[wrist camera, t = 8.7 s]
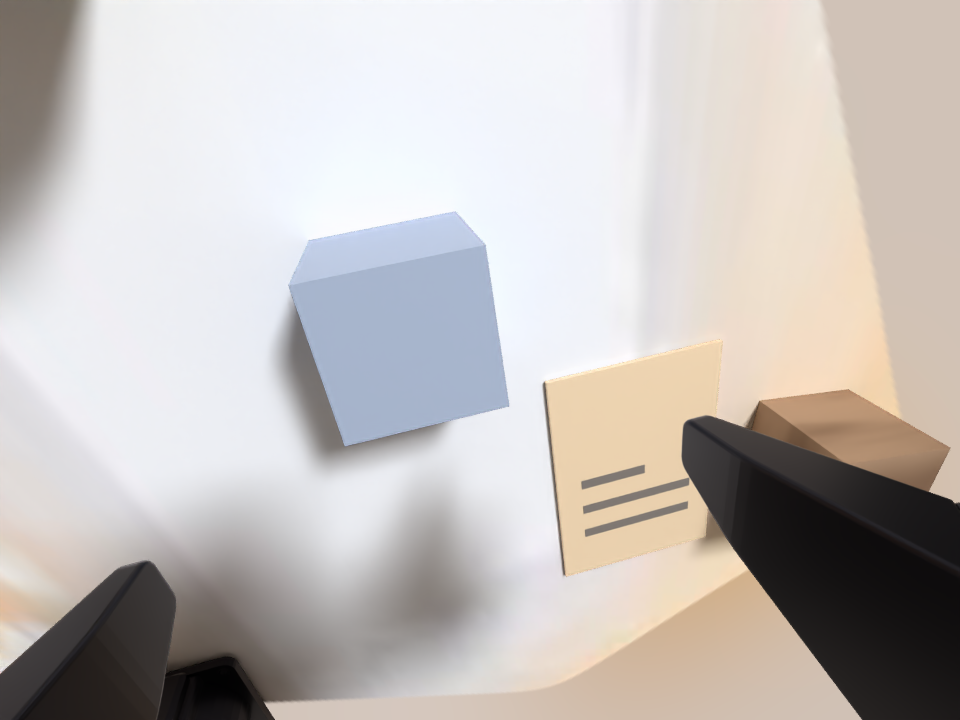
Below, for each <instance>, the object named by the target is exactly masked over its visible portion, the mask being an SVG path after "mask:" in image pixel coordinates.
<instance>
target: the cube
mask: <svg viewBox="0 0 960 720" xmlns="http://www.w3.org/2000/svg"><path fill="white" fill-rule="evenodd" d="M288 286H289V289H290V292H291V294H292V297H293V300H294V303H295V306H296V309H297V311H298V314H299V317H300V320H301V323H302V326H303V329H304V331H305V334H306V337H307V340H308V343H309V346H310V348H311V351H312V354H313V357H314V360H315V363H316V366H317V368H318V371H319V374H320V377H321V380H322V383H323V385H324V388H325V391H326V394H327V397H328V400H329V403H330V405H331V408H332V411H333V414H334V417H335V420H336V422H337V425H338V428H339V431H340V434H341V437H342V440H343V442H344V445H345V446H349V445H353V444H357V443H361V442H365V441H369V440H373V439H377V438H381V437H386V436H390V435H394V434H398V433H402V432H406V431H410V430H414V429H418V428H422V427H426V426H431V425H435V424H439V423H443V422H447V421H451V420H455V419H459V418H463V417H467V416H472V415H476V414H480V413H484V412H488V411H492V410H496V409H500V408H504V407H508V406H509V400H508V394H507V387H506V380H505V373H504V367H503V360H502V353H501V346H500V340H499V333H498V326H497V319H496V313H495V306H494V299H493V292H492V286H491V279H490V272H489V265H488V259H487V252H486V245H485V244H484V243H483V241H482V240H481V239H480V238H479V237H478V236H477V235H476V234H475V233H474V231H473V230H472V229H471V228H470V227H469V226H468V225H467V224H466V223H465V221H464V220H463V219H462V218H461V217H460V216H459V215H458V214H457V213H456V212H450V213H445V214H440V215H435V216H430V217H425V218H420V219H415V220H410V221H405V222H400V223H395V224H390V225H385V226H380V227H375V228H370V229H364V230H359V231H354V232H349V233H344V234H339V235H334V236H329V237H324V238H319V239H314V240H309V242H308V244H307V246H306V248H305V250H304V253H303V255H302V257H301V259H300V261H299V263H298V266H297V268H296V270H295V272H294V274H293V276H292V279H291V281H290V283H289V285H288Z"/></svg>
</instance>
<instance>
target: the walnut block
mask: <svg viewBox="0 0 960 720" xmlns="http://www.w3.org/2000/svg"><path fill="white" fill-rule="evenodd" d="M752 430H753V431H756V432H759V433H761V434H764V435H767V436H770V437H773V438H776V439H779V440H781V441H784V442H787V443H790V444H793V445H796V446H799V447H802V448H804V449H807V450H810V451H813V452H816V453H819V454H822V455H824V456H827V457H830V458H833V459H836V460H839V461H842V462H845V463H847V464H850V465H853V466H856V467H859V468H862V469H865V470H868V471H870V472H873V473H876V474H879V475H882V476H885V477H888V478H890V479H893V480H896V481H899V482H902V483H905V484H908V485H911V486H913V487H916V488H919V489H922V490H925V491H928V492H929V490H930V488H931V486H932V483H933V482H934V480H935V478H936V476H937V474H938V472H939V470H940V468H941V466H942V464H943V462H944V460H945V458H946V456H947V454H948V452H949V450H950V447H948V446H946V445H944V444H943V443H941V442H939V441H937V440H936V439H934V438H932V437H931V436H929V435H927V434H925V433H924V432H922V431H920V430H918V429H916V428H915V427H913V426H911V425H910V424H908V423H906V422H904V421H902V420H901V419H899V418H897V417H896V416H894V415H892V414H890V413H889V412H887V411H885V410H883V409H882V408H880V407H878V406H876V405H875V404H873V403H871V402H869V401H868V400H866V399H864V398H862V397H861V396H859V395H857V394H855V393H854V392H852V391H850V390H840V391H832V392H824V393H816V394H809V395H801V396H793V397H785V398H777V399H769V400H761V401H759V405H758V408H757V412H756V415H755V419H754V423H753V426H752Z"/></svg>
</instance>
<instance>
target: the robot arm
mask: <svg viewBox="0 0 960 720" xmlns="http://www.w3.org/2000/svg"><path fill="white" fill-rule="evenodd" d="M681 458H682V463H683V466H684V469H685V471H686V472H687V474H688V476H689V477H690V479H691V481H692V482H693V484H694V486H695V487H696V489H697V491H698V492H699V494H700V496H701V497H702V499H703V501H704V502H705V504H706V506H707V507H708V509H709V511H710V512H711V514H712V516H713V517H714V519H715V520H716V522H717V524H718V525H719V527H720V529H721V530H722V532H723V534H724V535H725V537H726V538H727V540H728V541H729V543H730V544H731V546H732V547H733V549H734V550H735V551H736V553H737V554H738V556H739V557H740V558H741V560H742V561H743V562H744V564H745V565H746V566H747V568H748V569H749V570H750V572H751V573H752V574H753V575H754V577H755V578H756V580H757V581H758V582H759V583H760V585H761V586H762V587H763V589H764V590H765V591H766V593H767V594H768V595H769V597H770V598H771V599H772V601H773V602H774V603H775V605H776V606H777V607H778V609H779V610H780V611H781V613H782V614H783V615H784V617H785V618H786V619H787V621H788V622H789V623H790V625H791V626H792V627H793V629H794V630H795V631H796V633H797V634H798V635H799V637H800V638H801V639H802V641H803V642H804V643H805V645H806V646H807V647H808V648H809V650H810V651H811V653H812V654H813V655H814V656H815V658H816V659H817V660H818V662H819V663H820V664H821V666H822V667H823V668H824V670H825V671H826V672H827V674H828V675H829V676H830V678H831V679H832V680H833V682H834V683H835V684H836V686H837V687H838V688H839V690H840V691H841V692H842V694H843V695H844V696H845V698H846V699H847V700H848V702H849V703H850V704H851V706H852V707H853V708H854V710H855V711H856V712H857V713H858V715H859V716H860V717H861V719H862V720H960V503H954V502H953V501H952V500H950V499H948V498H945V497H942V496H939V495H936V494H933V493H931V492H928V491H925V490H922V489H919V488H916V487H913V486H911V485H908V484H905V483H902V482H899V481H896V480H893V479H890V478H888V477H885V476H882V475H879V474H876V473H873V472H870V471H868V470H865V469H862V468H859V467H856V466H853V465H850V464H847V463H845V462H842V461H839V460H836V459H833V458H830V457H827V456H824V455H822V454H819V453H816V452H813V451H810V450H807V449H804V448H802V447H799V446H796V445H793V444H790V443H787V442H784V441H781V440H779V439H776V438H773V437H770V436H767V435H764V434H761V433H759V432H756V431H753V430H750V429H747V428H744V427H741V426H738V425H736V424H733V423H730V422H727V421H724V420H721V419H718V418H715V417H713V416H709V415H704V416H700V417H696V418H692V419H688V420H687V421H685V423H684V425H683V432H682V452H681ZM175 612H176V599H175V595H174V593H173V591H172V589H171V588H170V586H169V585H168V583H167V582H166V580H165V579H164V577H163V576H162V574H161V573H160V572H159V570H158V569H157V567H156V566H155V564H154V563H152V562H151V561H140V562H136V563H132V564H128V565H125V566H122V567H120V568H118V569H116V570H115V571H114V572H113V573H112V574H111V575H110V576H108V577H107V578H106V579H105V580H104V581H103V582H102V583H101V584H100V585H98V586H97V587H96V588H95V589H94V590H93V591H92V592H91V593H90V594H88V595H87V596H86V597H85V598H84V599H83V600H82V601H81V602H80V603H78V604H77V605H76V606H75V607H74V608H73V609H72V610H71V611H70V612H68V613H67V614H66V615H65V616H64V617H63V618H62V619H61V620H60V621H58V622H57V623H56V624H55V625H54V626H53V627H52V628H51V629H50V630H48V631H47V632H46V633H45V634H44V635H43V636H42V637H41V638H40V639H38V640H37V641H36V642H35V643H34V644H33V645H32V646H31V647H30V648H28V649H27V650H26V651H25V652H24V653H23V654H22V655H21V656H20V657H18V658H17V659H16V660H15V661H14V662H13V663H12V664H11V665H10V666H8V667H7V668H6V669H5V670H4V671H3V672H2V673H1V674H0V720H275V719H274V718H273V716H272V715H271V713H270V711H269V710H268V708H267V707H266V705H265V704H264V702H263V701H262V699H261V697H260V696H259V694H258V693H257V691H256V690H255V688H254V687H253V685H252V683H251V682H250V680H249V679H248V677H247V676H246V674H245V673H244V671H243V669H242V668H241V666H240V665H239V663H238V662H237V660H236V659H234V658H232V657H223V658H219V659H215V660H212V661H208V662H205V663H201V664H198V665H194V666H191V667H187V668H184V669H180V670H177V671H173V672H169V673H166V668H167V661H168V655H169V649H170V643H171V637H172V631H173V625H174V618H175Z"/></svg>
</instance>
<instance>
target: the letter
mask: <svg viewBox="0 0 960 720" xmlns="http://www.w3.org/2000/svg"><path fill="white" fill-rule="evenodd" d="M722 344H723V341H722V340H720V339H719V340H715V341H710V342H706V343H702V344H698V345H694V346H690V347H685V348H681V349H677V350H673V351H669V352H665V353H661V354H656V355H652V356H648V357H644V358H640V359H636V360H631V361H627V362H623V363H619V364H615V365H611V366H607V367H602V368H598V369H594V370H590V371H586V372H582V373H578V374H573V375H569V376H565V377H561V378H557V379H553V380H548V381H545V388H546V397H547V407H548V416H549V426H550V435H551V445H552V454H553V464H554V474H555V483H556V493H557V502H558V512H559V521H560V531H561V540H562V550H563V559H564V569H565V575H566V577H567V576H571V575H574V574H578V573H581V572H584V571H588V570H591V569H595V568H598V567H602V566H605V565H609V564H612V563H616V562H619V561H623V560H626V559H630V558H633V557H637V556H640V555H644V554H647V553H651V552H654V551H658V550H661V549H665V548H668V547H672V546H675V545H679V544H682V543H685V542H689V541H692V540H696V539H699V538H703V537H706V526H707V514H708V507H707V506H706V504H705V502H704V501H703V499H702V497H701V496H700V494H699V492H698V491H697V489H696V487H695V486H694V484H693V482H692V481H691V479H690V477H689V476H688V474H687V472H686V471H685V469H684V466H683V463H682V458H681V452H682V432H683V425H684V423H685V421H687V420H688V419H692V418H696V417H700V416H704V415H709V416H713V417H715V418H716V412H717V401H718V389H719V378H720V367H721V355H722Z"/></svg>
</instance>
